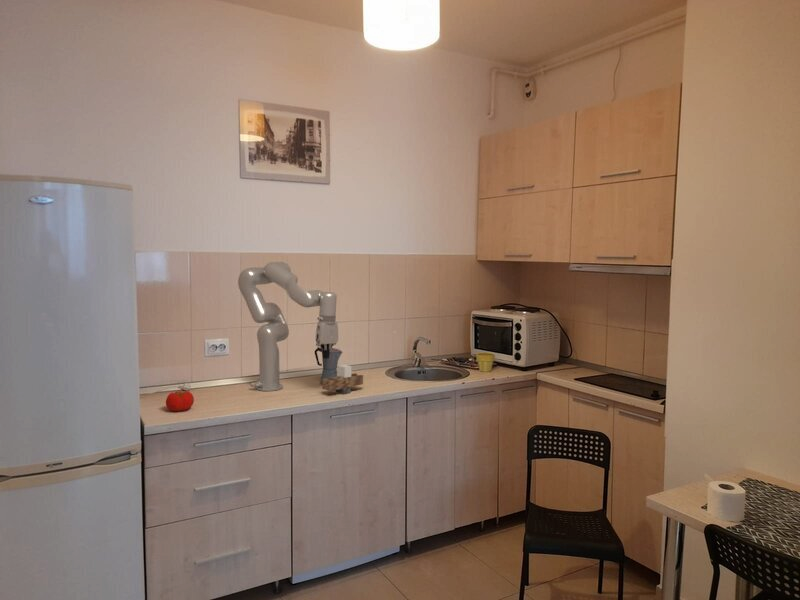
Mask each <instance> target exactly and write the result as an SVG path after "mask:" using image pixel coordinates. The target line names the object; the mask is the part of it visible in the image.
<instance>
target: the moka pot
mask: <svg viewBox="0 0 800 600" xmlns="http://www.w3.org/2000/svg"><path fill="white" fill-rule="evenodd" d="M318 352H321V353H322V349H321V347H319V346H317V347H316V349H314V356H315V359H316V363H317V366H321V367H322V372H321V377H320V384H322V379H326V378H332V377H338V363H339V359H340V358H341V356H342V354H343V351H342V350H341V349H339V348H335V347H333V346H332V347H331V350H330V354H329V358H327V359H325V358H323V357H322V356H321V357H322V358H321V360H322V363H320V361H319V355H318Z"/></svg>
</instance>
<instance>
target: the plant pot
mask: <svg viewBox="0 0 800 600" xmlns="http://www.w3.org/2000/svg"><path fill="white" fill-rule="evenodd" d="M495 356H496V355H495V353H493V352H477V353H476V360H477V365H478V370H479V372H483V373H489V371H490V372H491V371H492V368H493V364H494V362H495V358H496V357H495Z"/></svg>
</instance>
